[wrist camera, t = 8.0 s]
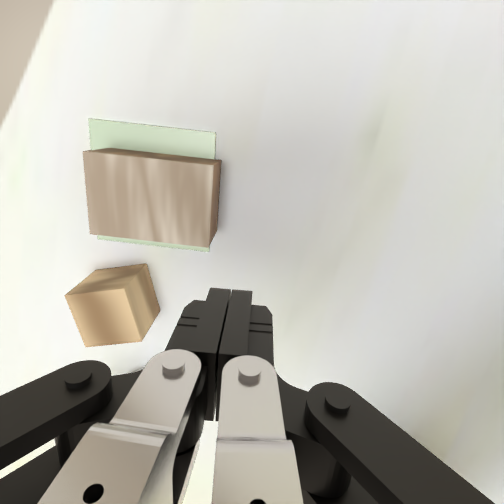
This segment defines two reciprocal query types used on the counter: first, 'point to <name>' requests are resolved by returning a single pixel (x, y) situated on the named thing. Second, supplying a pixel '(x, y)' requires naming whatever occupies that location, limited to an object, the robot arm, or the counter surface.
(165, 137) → the pad
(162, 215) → the walnut block
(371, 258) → the counter surface
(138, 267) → the oak block
